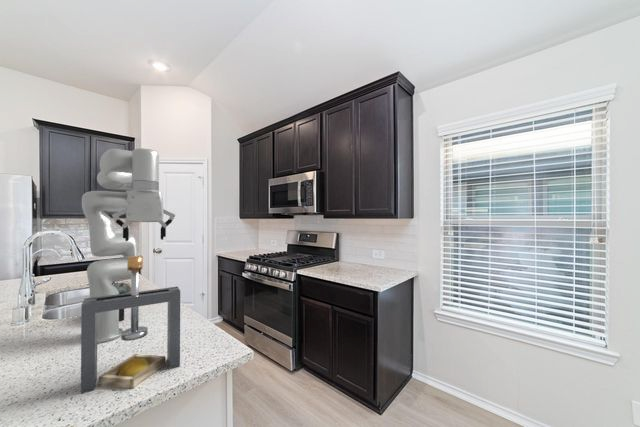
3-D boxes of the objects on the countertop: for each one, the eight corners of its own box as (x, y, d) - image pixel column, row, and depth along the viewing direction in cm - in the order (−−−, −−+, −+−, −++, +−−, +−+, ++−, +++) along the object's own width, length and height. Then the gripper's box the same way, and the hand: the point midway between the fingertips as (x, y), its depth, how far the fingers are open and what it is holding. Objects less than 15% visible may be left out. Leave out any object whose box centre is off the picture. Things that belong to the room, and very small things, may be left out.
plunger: (121, 334, 88) (121, 256, 88) (147, 329, 92) (147, 254, 92) (120, 342, 82) (121, 259, 83) (148, 336, 86) (148, 257, 87)
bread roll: (120, 386, 81) (120, 372, 81) (117, 373, 88) (117, 360, 88) (153, 375, 87) (153, 362, 87) (148, 364, 93) (148, 352, 93)
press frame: (84, 381, 83) (84, 298, 83) (176, 357, 97) (177, 286, 97) (80, 394, 77) (81, 304, 77) (179, 366, 91) (180, 291, 92)
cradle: (98, 385, 81) (98, 376, 81) (134, 361, 95) (134, 353, 95) (133, 388, 80) (133, 379, 80) (165, 363, 93) (165, 356, 93)
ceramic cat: (127, 320, 131) (128, 278, 131) (110, 324, 126) (111, 281, 126) (117, 311, 144) (117, 272, 144) (101, 314, 139) (101, 274, 139)
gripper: (111, 184, 82) (110, 242, 82) (176, 188, 91) (175, 239, 91) (113, 186, 89) (113, 240, 88) (174, 189, 98) (173, 238, 98)
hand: (145, 239), depth 90 cm, fingers open, 9 cm apart
